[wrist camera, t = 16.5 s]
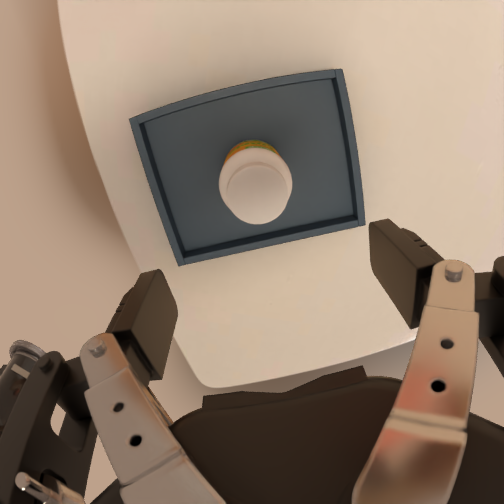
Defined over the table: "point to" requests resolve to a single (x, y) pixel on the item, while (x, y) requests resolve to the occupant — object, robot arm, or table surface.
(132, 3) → the table surface
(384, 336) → the table surface
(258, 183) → the supplement bottle
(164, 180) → the tray
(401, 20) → the table surface
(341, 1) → the table surface
